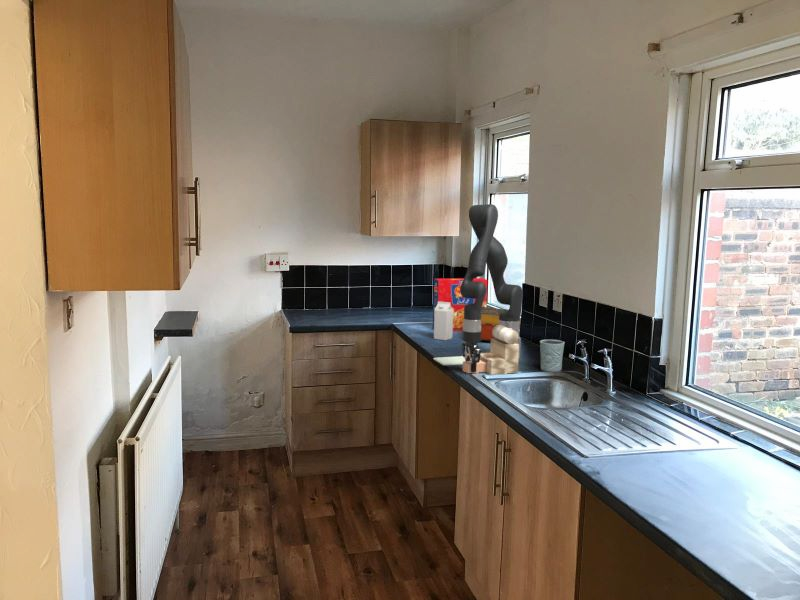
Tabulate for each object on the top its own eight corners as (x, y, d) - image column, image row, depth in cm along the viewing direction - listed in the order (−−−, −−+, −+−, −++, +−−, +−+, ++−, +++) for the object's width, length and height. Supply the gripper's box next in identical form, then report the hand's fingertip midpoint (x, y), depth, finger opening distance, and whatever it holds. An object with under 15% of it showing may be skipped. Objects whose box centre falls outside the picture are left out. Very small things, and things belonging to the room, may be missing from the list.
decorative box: (473, 336, 357) (471, 305, 355) (515, 335, 350) (513, 304, 348) (465, 345, 338) (462, 313, 336) (509, 345, 331) (507, 312, 329)
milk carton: (440, 336, 350) (441, 300, 347) (452, 338, 346) (453, 301, 344) (433, 339, 344) (434, 302, 341) (446, 340, 340) (447, 303, 337)
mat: (466, 357, 304) (466, 355, 304) (477, 363, 293) (477, 362, 292) (433, 359, 299) (433, 357, 299) (443, 365, 288) (443, 364, 288)
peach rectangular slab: (490, 368, 283) (491, 359, 283) (496, 371, 279) (496, 362, 278) (462, 370, 279) (462, 361, 278) (467, 373, 274) (468, 364, 274)
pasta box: (437, 331, 364) (438, 280, 360) (432, 329, 371) (433, 278, 367) (485, 330, 371) (487, 279, 367) (480, 327, 379) (481, 278, 375)
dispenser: (502, 365, 290) (504, 324, 287) (517, 373, 276) (519, 330, 274) (476, 367, 286) (478, 325, 283) (491, 375, 273) (492, 331, 270)
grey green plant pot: (545, 372, 278) (547, 344, 276) (534, 367, 288) (535, 339, 286) (567, 371, 281) (569, 343, 279) (555, 366, 291) (556, 338, 289)
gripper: (487, 332, 269) (486, 374, 272) (473, 326, 283) (471, 365, 285) (470, 333, 267) (469, 375, 270) (456, 326, 281) (455, 366, 283)
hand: (470, 370), depth 277 cm, fingers closed on peach rectangular slab, 5 cm apart
